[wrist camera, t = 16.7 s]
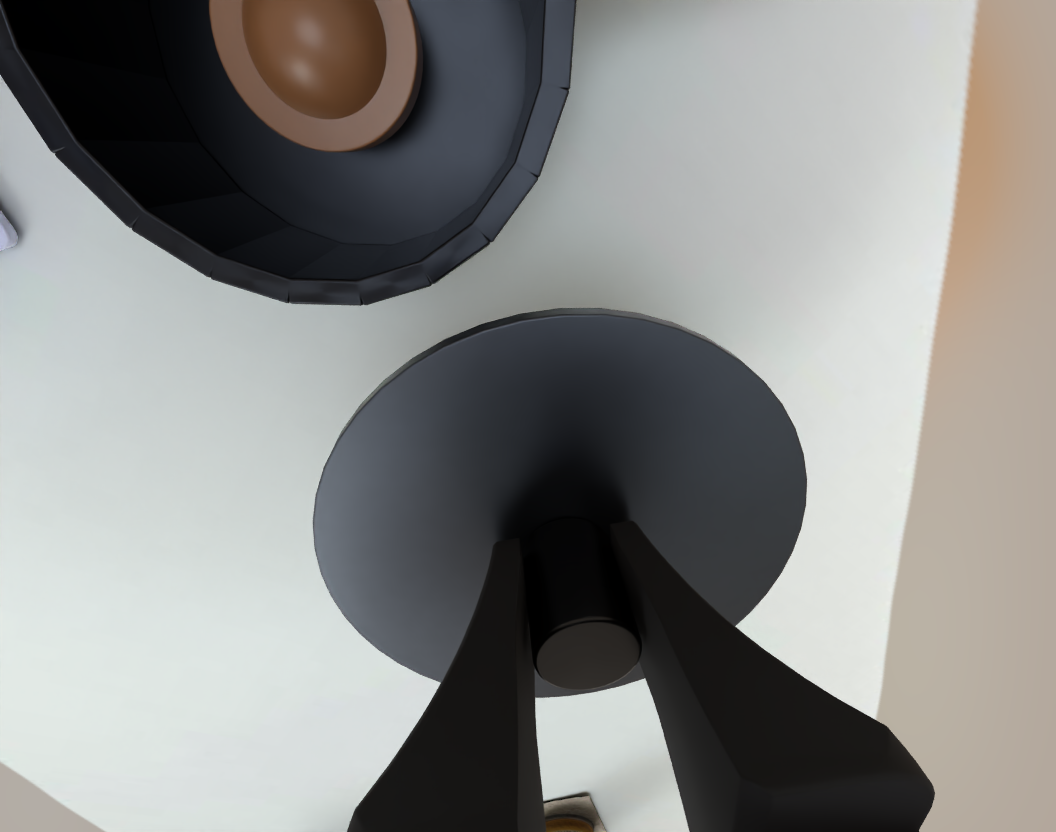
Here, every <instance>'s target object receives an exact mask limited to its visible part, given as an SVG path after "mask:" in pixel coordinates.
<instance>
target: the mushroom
mask: <svg viewBox="0 0 1056 832" xmlns="http://www.w3.org/2000/svg"><path fill="white" fill-rule="evenodd" d="M209 14H210V21H211V28H212V33H213V37H214V41H215V45H216V48H217V51H218V54H219V57H220V60H221V62H222V64H223V67H224V69H225V71H226V73H227V75H228V77H229V79H230V81H231V82H232V84H233V86H234V87H235V89H236V91H237V92H238V94H239V95H240V96H241V98H242V99H243V100H244V102H245V103H246V104H247V106H248V107H249V108H250V109H251V110H252V111H253V112H254V113H255V114H256V116H257V117H259V118H260V119H261V120H262V121H263V122H264V123H265V124H266V125H267V126H269V127H270V128H271V129H273V130H274V131H275V132H277V133H278V134H280V135H281V136H283V137H285V138H286V139H288V140H290V141H292V142H294V143H296V144H299V145H301V146H303V147H306V148H310V149H314V150H317V151H324V152H355V151H362V150H366V149H369V148H372V147H374V146H376V145H378V144H380V143H382V142H384V141H385V140H387V139H388V138H390V137H391V136H392V135H393V134H394V133H395V132H396V131H397V130H398V129H399V128H400V127H401V126H402V125H403V123H404V122H405V121H406V119H407V118H408V116H409V114H410V113H411V111H412V109H413V107H414V104H415V102H416V99H417V97H418V93H419V89H420V85H421V79H422V72H423V50H422V40H421V35H420V30H419V25H418V22H417V19H416V15H415V12H414V10H413V7H412V5H411V2H410V0H209Z"/></svg>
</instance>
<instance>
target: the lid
mask: <svg viewBox="0 0 1056 832" xmlns="http://www.w3.org/2000/svg"><path fill="white" fill-rule="evenodd" d="M806 492H807V476H806V468H805V461H804V454H803V451H802V447H801V444H800V441H799V438H798V435H797V432H796V429H795V427H794V425H793V423H792V421H791V419H790V417H789V416H788V414H787V412H786V410H785V408H784V406H783V404H782V403H781V402H780V401H779V399H778V398H777V397H776V395H775V394H774V393H773V392H772V390H771V389H770V388H769V387H768V385H767V384H766V383H765V382H764V381H763V380H762V379H761V378H760V377H759V376H758V375H757V374H755V373H754V372H753V371H752V370H751V369H750V368H749V367H748V366H746V365H745V364H744V363H743V362H742V361H741V360H740V359H738V358H737V357H736V356H735V355H734V354H732V353H731V352H729V351H727V350H726V349H724V348H723V347H721V346H720V345H718V344H716V343H715V342H713V341H712V340H710V339H708V338H707V337H705V336H703V335H701V334H698V333H696V332H694V331H692V330H689V329H687V328H685V327H682V326H680V325H678V324H675V323H673V322H669V321H666V320H662V319H658V318H655V317H651V316H647V315H643V314H640V313H634V312H626V311H618V310H611V309H603V308H559V309H552V310H544V311H537V312H529V313H522V314H518V315H514V316H510V317H506V318H503V319H499V320H495V321H491V322H488V323H484V324H481V325H478V326H476V327H474V328H471V329H469V330H466V331H464V332H461V333H459V334H457V335H454V336H452V337H449V338H447V339H445V340H443V341H441V342H440V343H438V344H436V345H434V346H433V347H431V348H429V349H427V350H426V351H424V352H422V353H420V354H419V355H417V356H415V357H414V358H412V359H411V360H409V361H408V362H407V363H406V364H404V365H403V366H402V367H400V368H399V369H398V370H397V371H395V372H394V373H393V374H391V375H390V376H389V377H388V378H386V379H385V380H384V381H383V382H382V383H381V384H380V385H379V386H378V387H377V388H376V389H375V390H374V391H373V392H372V393H371V394H370V395H369V396H368V397H367V398H366V399H365V400H364V401H363V403H362V404H361V405H360V406H359V407H358V409H357V410H356V412H355V413H354V414H353V416H352V417H351V419H350V420H349V421H348V423H347V424H346V426H345V427H344V429H343V430H342V431H341V433H340V435H339V437H338V439H337V441H336V443H335V446H334V448H333V450H332V452H331V454H330V456H329V458H328V460H327V462H326V464H325V466H324V468H323V472H322V475H321V479H320V482H319V486H318V489H317V492H316V497H315V506H314V516H313V532H314V546H315V552H316V556H317V560H318V564H319V568H320V571H321V575H322V577H323V579H324V581H325V584H326V586H327V588H328V590H329V593H330V595H331V597H332V598H333V600H334V601H335V603H336V604H337V606H338V607H339V609H340V610H341V612H342V614H343V615H344V616H345V618H346V619H347V620H348V621H349V622H350V623H351V624H352V626H353V627H354V628H355V629H356V630H357V631H358V632H359V633H360V634H361V635H362V636H363V637H364V638H365V639H366V640H368V641H369V642H370V643H371V644H372V645H373V646H375V647H376V648H377V649H378V650H379V651H381V652H382V653H384V654H385V655H387V656H388V657H390V658H391V659H393V660H394V661H396V662H397V663H399V664H401V665H403V666H405V667H407V668H409V669H411V670H413V671H414V672H416V673H418V674H420V675H423V676H425V677H428V678H431V679H433V680H436V681H438V682H442V680H443V679H444V677H445V675H446V673H447V671H448V669H449V667H450V665H451V663H452V661H453V659H454V657H455V655H456V653H457V651H458V649H459V646H460V644H461V642H462V640H463V638H464V635H465V633H466V630H467V628H468V626H469V623H470V621H471V618H472V616H473V613H474V611H475V608H476V605H477V602H478V599H479V597H480V594H481V591H482V588H483V585H484V582H485V578H486V575H487V571H488V568H489V564H490V559H491V555H492V549H493V545H494V544H495V543H496V542H497V541H504V540H510V539H517V538H519V539H520V545H521V550H522V556H523V561H524V572H525V582H526V594H527V608H528V618H529V629H530V639H531V650H532V660H533V665H534V668H535V698H545V697H560V696H571V695H578V694H585V693H592V692H597V691H601V690H606V689H610V688H614V687H619V686H622V685H625V684H628V683H632V682H635V681H638V680H641V679H644V678H645V676H644V673H643V670H642V668H641V665H640V662H639V659H640V657H641V652H642V641H641V637H640V634H639V631H638V628H637V625H636V621H635V618H634V615H633V612H632V609H631V606H630V603H629V600H628V596H627V593H626V590H625V587H624V584H623V581H622V578H621V575H620V572H619V569H618V566H617V563H616V559H615V556H614V553H613V550H612V547H611V536H610V524H614V523H621V522H627V521H634V522H635V523H637V525H638V526H639V527H640V529H641V530H642V531H643V533H644V534H645V535H646V537H647V538H648V539H649V540H650V542H651V543H652V544H653V545H654V546H655V548H656V549H657V550H658V551H659V552H660V554H661V555H662V556H663V557H664V558H665V559H666V560H667V562H668V563H669V564H670V565H671V566H672V567H673V568H674V569H675V570H676V571H677V572H678V573H679V574H680V575H681V577H682V578H683V579H684V580H685V581H686V582H687V583H688V584H689V585H690V586H691V587H692V588H693V589H694V590H695V591H696V592H697V593H698V594H699V595H700V596H701V597H702V598H703V599H705V600H706V601H707V602H708V603H709V604H710V605H711V606H712V607H713V608H714V609H715V610H716V611H718V612H719V613H720V614H721V615H722V616H723V617H724V618H725V619H727V620H728V621H729V622H730V623H731V624H733V625H734V626H736V625H737V624H738V623H739V622H740V621H741V620H743V619H744V618H745V617H746V616H747V615H748V614H749V613H750V612H751V611H752V610H753V609H754V608H755V606H756V605H757V604H758V603H759V602H760V601H761V600H762V599H763V598H764V596H765V595H766V594H767V593H768V591H769V590H770V589H771V587H772V586H773V584H774V583H775V581H776V580H777V579H778V577H779V576H780V574H781V573H782V571H783V569H784V567H785V565H786V563H787V561H788V559H789V558H790V556H791V554H792V552H793V549H794V547H795V544H796V541H797V538H798V536H799V533H800V530H801V526H802V522H803V517H804V512H805V507H806Z"/></svg>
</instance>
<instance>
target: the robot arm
mask: <svg viewBox="0 0 1056 832" xmlns="http://www.w3.org/2000/svg"><path fill="white" fill-rule="evenodd" d="M17 241H18V236H17V233H16V231H15V229H14V228H13V226H12V225H11V224H10V222H9V221H8V220H7V218H6V217H5V216H4V214H3V213H2V212H1V210H0V251H2V250H5V249H8V248H11V247H13V246H15V245H16V244H17ZM610 536H611V547H612V550H613V553H614V556H615V559H616V563H617V566H618V569H619V572H620V575H621V578H622V581H623V584H624V587H625V590H626V593H627V596H628V600H629V603H630V606H631V609H632V612H633V615H634V618H635V621H636V625H637V628H638V631H639V634H640V637H641V641H642V652H641V657H640V659H639V662H640V665H641V668H642V670H643V673H644V676H645V678H646V681H647V684H648V686H649V689H650V692H651V695H652V697H653V700H654V703H655V706H656V709H657V712H658V715H659V719H660V722H661V726H662V729H663V733H664V737H665V740H666V744H667V748H668V751H669V755H670V759H671V762H672V766H673V770H674V774H675V777H676V781H677V785H678V789H679V792H680V796H681V800H682V804H683V807H684V811H685V815H686V819H687V823H688V827H689V831H690V832H919V829H920V827H921V825H922V823H923V822H924V820H925V818H926V816H927V814H928V813H929V811H930V809H931V807H932V803H933V800H934V795H935V792H934V788H933V785H932V783H931V782H930V780H929V779H928V778H927V776H926V775H925V773H924V772H923V771H922V769H921V768H920V766H919V765H918V763H917V762H916V761H915V760H914V758H913V757H912V756H911V755H910V753H909V752H908V751H907V749H906V748H905V747H904V746H903V745H902V744H901V742H900V741H899V740H898V739H897V738H896V737H895V735H894V734H893V733H892V732H891V731H890V730H889V728H888V727H887V726H885V725H884V724H882V723H880V722H878V721H876V720H875V719H873V718H871V717H869V716H868V715H866V714H864V713H862V712H860V711H859V710H857V709H855V708H853V707H852V706H850V705H848V704H846V703H844V702H843V701H841V700H839V699H837V698H836V697H834V696H832V695H831V694H829V693H828V692H826V691H824V690H823V689H821V688H820V687H818V686H817V685H815V684H813V683H812V682H810V681H809V680H807V679H806V678H804V677H803V676H801V675H800V674H798V673H797V672H795V671H794V670H793V669H791V668H790V667H788V666H787V665H785V664H784V663H783V662H781V661H780V660H778V659H777V658H775V657H774V656H773V655H771V654H770V653H768V652H767V651H765V650H764V649H763V648H761V647H760V646H759V645H758V644H756V643H755V642H754V641H752V640H751V639H750V638H749V637H747V636H746V635H745V634H743V633H742V632H741V631H740V630H739V629H737V628H736V627H735V626H734V625H733V624H731V623H730V622H729V621H728V620H727V619H725V618H724V617H723V616H722V615H721V614H720V613H719V612H718V611H716V610H715V609H714V608H713V607H712V606H711V605H710V604H709V603H708V602H707V601H706V600H705V599H703V598H702V597H701V596H700V595H699V594H698V593H697V592H696V591H695V590H694V589H693V588H692V587H691V586H690V585H689V584H688V583H687V582H686V581H685V580H684V579H683V578H682V577H681V575H680V574H679V573H678V572H677V571H676V570H675V569H674V568H673V567H672V566H671V565H670V564H669V563H668V562H667V560H666V559H665V558H664V557H663V556H662V555H661V554H660V552H659V551H658V550H657V549H656V548H655V546H654V545H653V544H652V543H651V542H650V540H649V539H648V538H647V537H646V535H645V534H644V533H643V531H642V530H641V529H640V527H639V526H638V525H637V523H635V522H634V521H627V522H621V523H614V524H610ZM347 832H546V823H545V814H544V804H543V795H542V785H541V776H540V766H539V756H538V746H537V736H536V718H535V668H534V665H533V660H532V650H531V639H530V629H529V618H528V608H527V594H526V582H525V572H524V561H523V556H522V550H521V545H520V539H519V538H517V539H510V540H504V541H497V542H496V543H495V544H494V545H493V549H492V555H491V559H490V564H489V568H488V571H487V575H486V578H485V582H484V585H483V588H482V591H481V594H480V597H479V599H478V602H477V605H476V608H475V611H474V613H473V616H472V618H471V621H470V623H469V626H468V628H467V630H466V633H465V635H464V638H463V640H462V642H461V644H460V646H459V649H458V651H457V653H456V655H455V657H454V659H453V661H452V663H451V665H450V667H449V669H448V671H447V673H446V675H445V677H444V679H443V680H442V682H441V684H440V686H439V688H438V689H437V691H436V693H435V695H434V696H433V698H432V700H431V702H430V703H429V705H428V707H427V708H426V710H425V712H424V713H423V715H422V717H421V718H420V720H419V721H418V723H417V724H416V726H415V727H414V729H413V730H412V732H411V733H410V735H409V736H408V738H407V739H406V741H405V742H404V744H403V745H402V747H401V748H400V750H399V751H398V753H397V754H396V756H395V757H394V759H393V760H392V761H391V763H390V764H389V766H388V767H387V768H386V770H385V771H384V772H383V773H382V775H381V776H380V777H379V779H378V780H377V781H376V783H375V784H374V785H373V787H372V788H371V789H370V790H369V792H368V793H367V794H366V796H365V797H364V798H363V800H362V801H361V802H360V804H359V805H358V806H357V807H356V809H355V811H354V813H353V816H352V819H351V822H350V824H349V827H348V830H347Z"/></svg>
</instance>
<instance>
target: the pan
mask: <svg viewBox="0 0 1056 832" xmlns="http://www.w3.org/2000/svg"><path fill="white" fill-rule="evenodd" d="M410 2H411V5H412V7H413V10H414V12H415V15H416V19H417V22H418V25H419V30H420V35H421V40H422V50H423V72H422V79H421V85H420V89H419V93H418V97H417V99H416V102H415V104H414V107H413V109H412V111H411V113H410V114H409V116H408V118H407V119H406V121H405V122H404V123H403V125H402V126H401V127H400V128H399V129H398V130H397V131H396V132H395V133H394V134H393V135H392V136H391V137H390V138H388V139H387V140H385V141H384V142H382V143H380V144H378V145H376V146H374V147H372V148H369V149H366V150H362V151H355V152H324V151H317V150H314V149H310V148H306V147H303V146H301V145H299V144H296V143H294V142H292V141H290V140H288V139H286V138H285V137H283V136H281V135H280V134H278V133H277V132H275V131H274V130H273V129H271V128H270V127H269V126H267V125H266V124H265V123H264V122H263V121H262V120H261V119H260V118H259V117H257V116H256V114H255V113H254V112H253V111H252V110H251V109H250V108H249V107H248V106H247V104H246V103H245V102H244V100H243V99H242V98H241V96H240V95H239V94H238V92H237V91H236V89H235V87H234V86H233V84H232V82H231V81H230V79H229V77H228V75H227V73H226V71H225V69H224V67H223V64H222V62H221V60H220V57H219V54H218V51H217V48H216V45H215V41H214V37H213V33H212V28H211V21H210V14H209V0H0V75H1V77H2V78H3V80H4V81H5V83H6V84H7V86H8V87H9V89H10V90H11V92H12V93H13V95H14V96H15V98H16V99H17V101H18V102H19V104H20V105H21V107H22V108H23V110H24V111H25V113H26V114H27V116H28V117H29V119H30V120H31V122H32V123H33V125H34V126H35V128H36V129H37V131H38V132H39V134H40V135H41V137H42V138H43V140H44V141H45V143H46V145H47V146H48V148H49V149H50V151H51V152H53V153H55V155H56V157H57V158H58V159H59V160H60V161H61V162H62V163H63V164H64V165H65V166H66V167H67V168H68V169H69V170H70V171H71V172H72V173H73V174H74V175H75V176H76V177H77V178H79V179H80V180H81V181H82V182H83V183H84V184H85V185H86V186H87V187H88V188H89V189H90V190H91V191H92V192H93V193H94V194H95V195H96V196H97V197H98V198H99V199H100V200H101V201H102V202H103V203H104V204H105V205H106V206H107V207H108V208H109V209H110V210H111V211H112V212H113V213H114V214H115V215H116V216H117V217H118V218H119V219H120V220H121V221H122V222H123V223H124V224H125V225H126V226H128V227H129V228H132V230H133V231H134V232H136V233H137V234H139V235H141V236H142V237H144V238H145V239H147V240H149V241H150V242H152V243H154V244H155V245H157V246H158V247H160V248H162V249H163V250H165V251H166V252H168V253H170V254H171V255H173V256H175V257H176V258H178V259H179V260H181V261H183V262H184V263H186V264H188V265H189V266H191V267H192V268H194V269H196V270H197V271H199V272H200V273H202V274H204V275H205V276H207V277H211V279H213V280H215V281H219V282H222V283H225V284H228V285H231V286H234V287H238V288H241V289H244V290H247V291H250V292H253V293H257V294H260V295H263V296H266V297H269V298H272V299H276V300H279V301H282V302H285V303H289V302H290V303H292V304H321V305H360V306H361V305H363V304H364V305H369V304H372V303H375V302H379V301H382V300H385V299H389V298H392V297H395V296H399V295H402V294H406V293H409V292H412V291H416V290H419V289H422V288H426V287H429V286H431V285H432V284H435V283H436V282H438V281H439V280H441V279H442V278H443V277H445V276H446V275H448V274H449V273H450V272H452V271H453V270H455V269H456V268H457V267H459V266H460V265H462V264H463V263H464V262H466V261H467V260H469V259H470V258H471V257H473V256H474V255H476V254H477V253H478V252H480V251H481V250H483V249H484V248H485V247H487V246H488V245H489V244H490V242H493V241H494V240H495V238H496V237H497V235H498V234H499V233H500V231H501V230H502V229H503V227H504V226H505V224H506V223H507V222H508V220H509V219H510V218H511V216H512V215H513V213H514V212H515V211H516V209H517V208H518V206H519V205H520V204H521V202H522V201H523V200H524V198H525V197H526V195H527V194H528V193H529V191H530V190H531V189H532V187H533V186H534V184H535V183H536V182H537V180H538V177H539V176H540V174H541V171H542V168H543V166H544V163H545V160H546V157H547V154H548V151H549V148H550V146H551V143H552V140H553V137H554V134H555V131H556V128H557V125H558V123H559V120H560V117H561V114H562V111H563V108H564V105H565V102H566V100H567V97H568V94H569V89H570V81H571V68H572V54H573V40H574V27H575V13H576V0H410Z"/></svg>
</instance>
